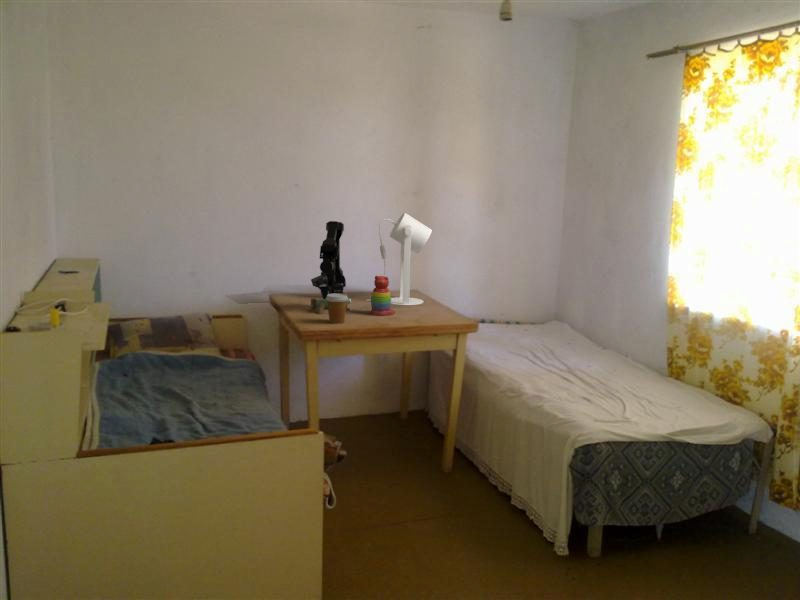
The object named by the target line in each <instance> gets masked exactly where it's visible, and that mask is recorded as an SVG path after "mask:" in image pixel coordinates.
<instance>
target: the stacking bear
mask: <svg viewBox="0 0 800 600" xmlns="http://www.w3.org/2000/svg"><path fill="white" fill-rule="evenodd" d="M389 284H390V281H389V277H387V276H386V277H384V275H375V276H374V286H375V287H374V288H373V290H372V292H371V297H370V300H371V301H370V304H371V306H370V307H371V310H370V314H371V315H372V316H376V317H377V316H379V317H385V316H393V315H395V313H396V312H395V311H396V310H395V309H393V308H391V305H392V304H391V298H392V296H391V292H390V289H389V288H388V287H389Z"/></svg>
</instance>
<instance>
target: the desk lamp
mask: <svg viewBox="0 0 800 600" xmlns="http://www.w3.org/2000/svg"><path fill="white" fill-rule="evenodd" d="M384 221H390V222H391V224H393V225H394V226H393V228H392V230H391V232H390V234H389V238H392V240H394V241H396V242H398V243H399V244H400V271H399V273H400V276H399V288H400V289H399V296H396V297H391V305H393V306H394V305H395V306H418V305H422V304H424V300H423V299H420V298H416V297H410V293H411V291H410V288H411V260H412V259H411V256H412V255H411V254H412V253H411V251H412V252H414V253H416V254H419V253H420V252H421V250H422V249H423V248H424V247H425V245H426V244H427V241H428V240H429V238H430V237H431V234H432V232H433V230H432V228H430V227H428V226H427V225H426V224H424V223H422V222H421V221H419V220H417V219H416V218H414V217H412V216H411V215H409V214H408V213H406V212H403V213H402V214H401V215H400V217H399V218H398V220H397V221H396V220H394V221H393V220H392V219H390V218H384V219H381V221H380V223H379V225H378V233H379V234H378V235H379V240H380V245H379V251H380V256H381V259H383V263H384V264H383V265H384V266H383V267H384V275H383V276H384V277H387V275H386V274H387V269H386V267H387V265H386V259H387V252H386V247H385V245H383V242H382V236H381V235H382V233H381V225H382V223H383V222H384ZM366 301H367V302H371V299H366Z"/></svg>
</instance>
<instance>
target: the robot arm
mask: <svg viewBox="0 0 800 600" xmlns="http://www.w3.org/2000/svg"><path fill="white" fill-rule="evenodd" d="M325 231H326V232H327V233H326V236H325V237H326V238H325V239H324V240H323V241H322V244H321V245H320V247H319V249H320V250H319V259H321V260H322V262H321V263H319V264H320V265H319V270H320V275H317V276H316V277H313V278H311V279H310V281H311V284H312V286H313V287H314V288H318V289H319V291H320V293H321V297H322V299H326V297H327V295H328V294H333V293H341V294H344V288H346V285H347V283H346V282H347V281H346V277H345V275H344V271H343V269H342V267H341V250H340V249H341V247H340V245H341V244H340V242H341V241H340V239H341V237H342V236H343V233H344V231H345V224H344V223H343V222H341V221H338V220H331V221H330V220H329V221H328V222H326V223H325Z"/></svg>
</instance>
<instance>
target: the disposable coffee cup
mask: <svg viewBox="0 0 800 600" xmlns="http://www.w3.org/2000/svg"><path fill="white" fill-rule="evenodd" d="M326 299H327V304H328V312H329V313H328V319H329V320H328V321H329V323H330V324H333V323H336V324H337V323H338V324H337V325H339V323H340V324H344V323H345V319H346V318H345V316H346V312H347V311H346V304H347V299H349V297H348V295H347V293H343V294H341V293H333V294H329V293H328V295H327V297H326ZM347 305H348V304H347ZM336 324H335V325H336Z"/></svg>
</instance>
